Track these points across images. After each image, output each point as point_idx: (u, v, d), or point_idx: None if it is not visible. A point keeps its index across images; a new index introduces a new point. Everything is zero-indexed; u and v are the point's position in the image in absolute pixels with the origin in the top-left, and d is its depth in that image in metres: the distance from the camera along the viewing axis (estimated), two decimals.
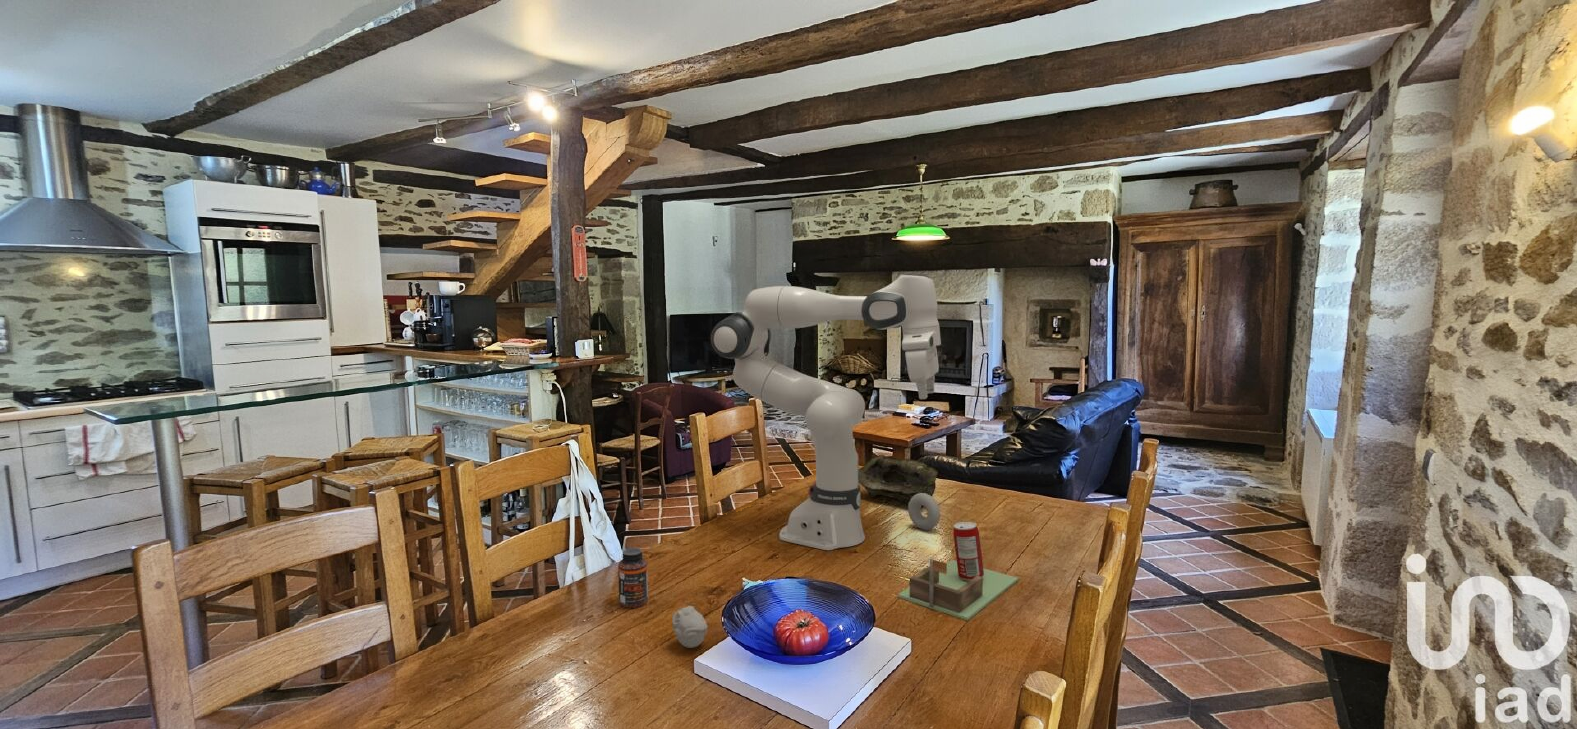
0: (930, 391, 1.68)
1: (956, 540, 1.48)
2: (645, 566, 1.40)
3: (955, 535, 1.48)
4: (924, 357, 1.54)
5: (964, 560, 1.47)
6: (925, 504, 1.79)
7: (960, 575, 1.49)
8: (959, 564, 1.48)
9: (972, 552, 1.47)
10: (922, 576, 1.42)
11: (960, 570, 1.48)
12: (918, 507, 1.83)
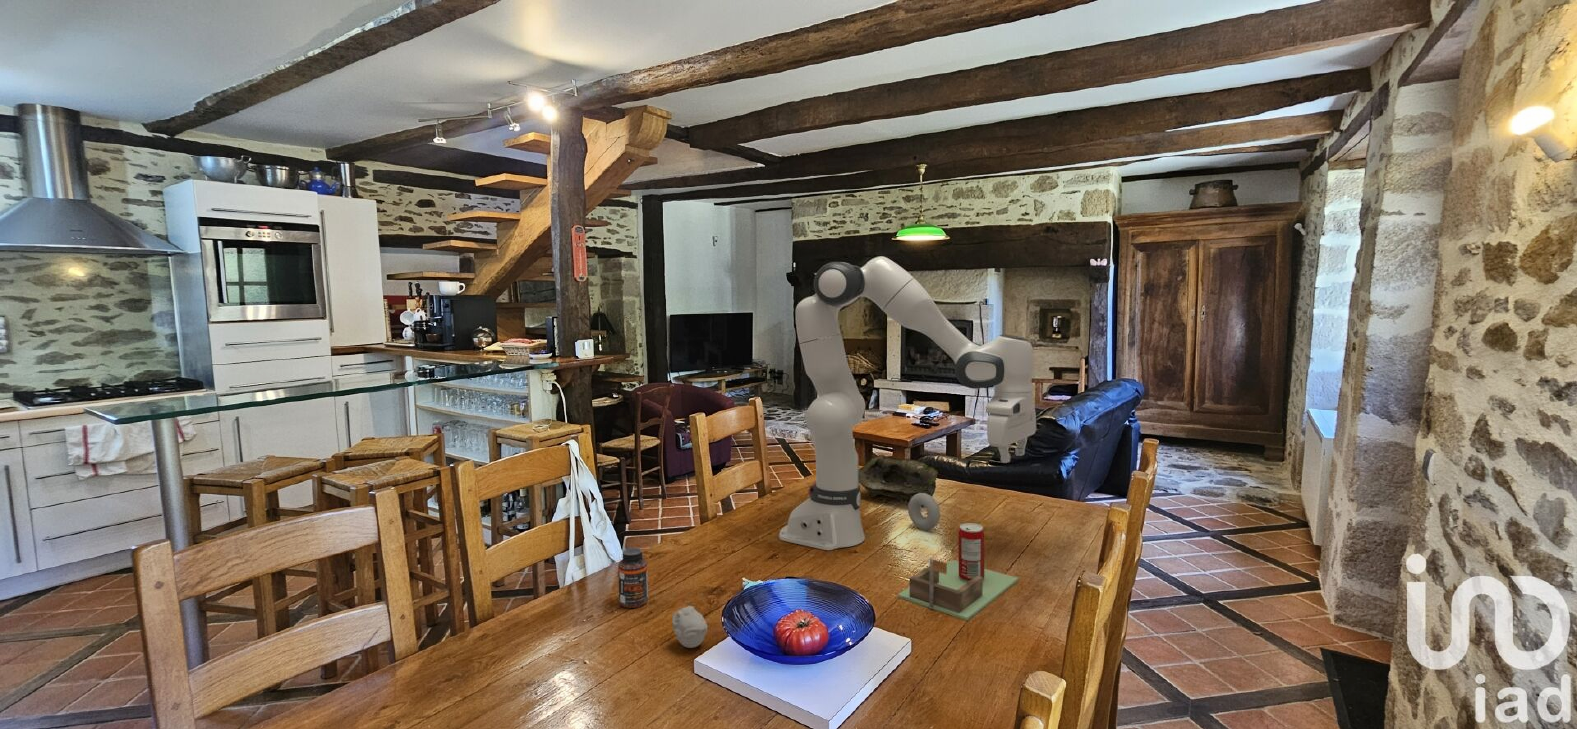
0: (1019, 454, 1.66)
1: (961, 541, 1.48)
2: (645, 566, 1.40)
3: (960, 536, 1.48)
4: (1004, 424, 1.54)
5: (967, 562, 1.47)
6: (925, 504, 1.79)
7: (961, 575, 1.49)
8: (961, 565, 1.48)
9: (975, 554, 1.46)
10: (922, 576, 1.42)
11: (961, 571, 1.48)
12: (918, 507, 1.83)
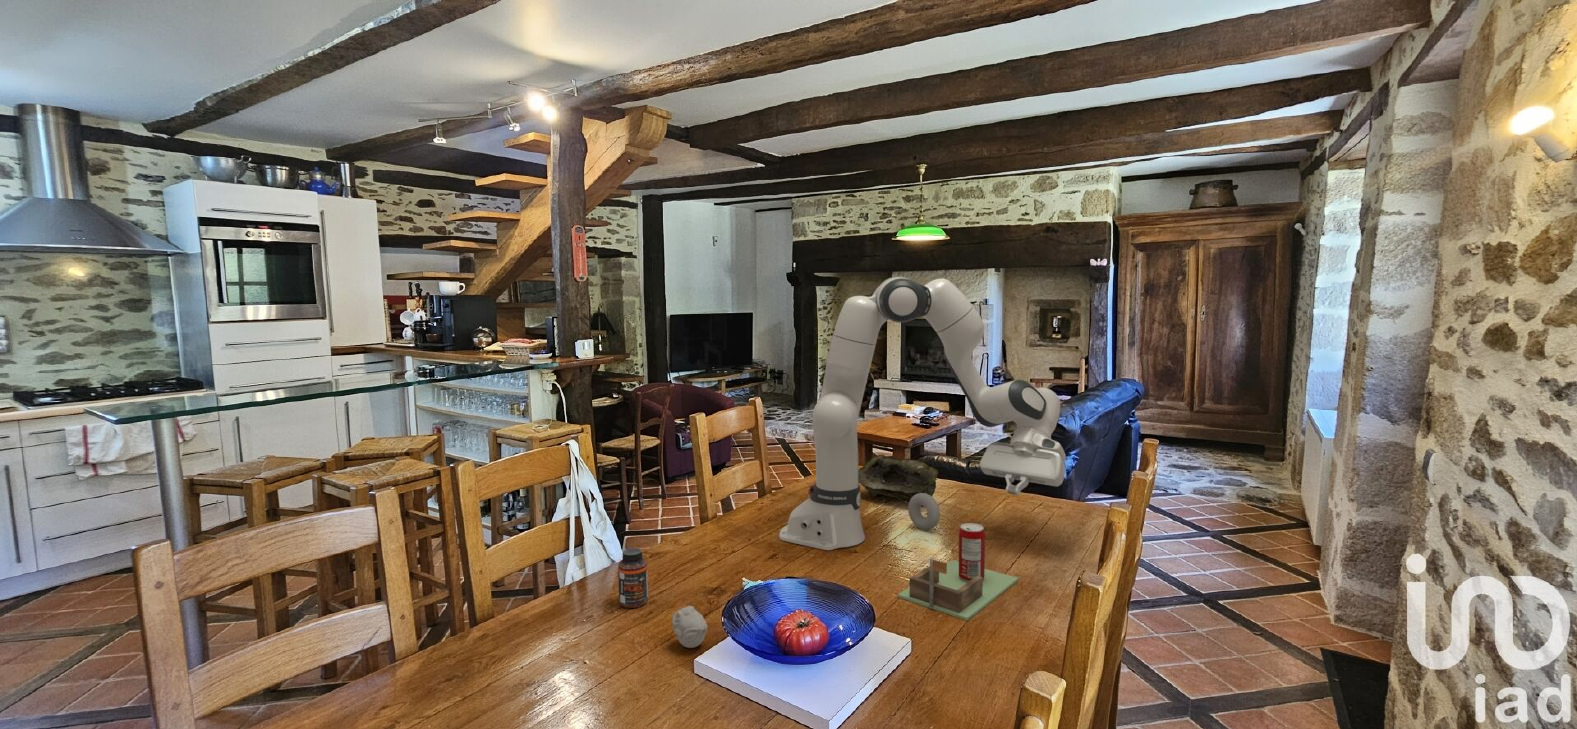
0: None
1: (961, 541, 1.48)
2: (645, 566, 1.40)
3: (961, 536, 1.48)
4: None
5: (967, 561, 1.47)
6: (925, 504, 1.79)
7: (961, 575, 1.49)
8: (962, 564, 1.48)
9: (976, 554, 1.47)
10: (922, 576, 1.42)
11: (962, 571, 1.48)
12: (918, 507, 1.83)
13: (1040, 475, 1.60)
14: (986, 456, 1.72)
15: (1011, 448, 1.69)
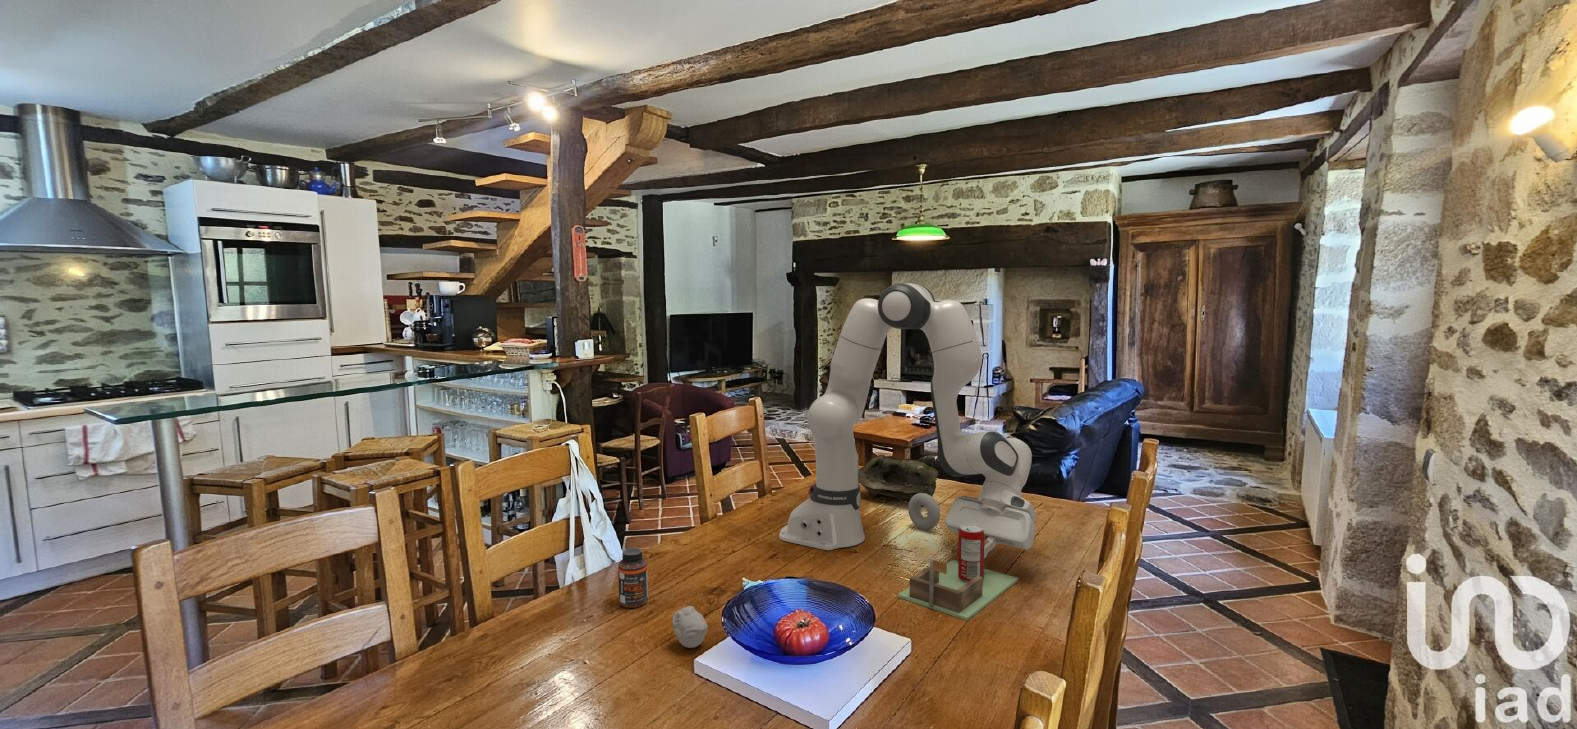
0: None
1: (960, 541, 1.48)
2: (645, 566, 1.40)
3: (960, 536, 1.48)
4: None
5: (966, 562, 1.47)
6: (925, 504, 1.79)
7: (960, 576, 1.49)
8: (961, 565, 1.48)
9: (975, 555, 1.46)
10: (922, 576, 1.42)
11: (961, 571, 1.48)
12: (918, 507, 1.83)
13: (1008, 537, 1.49)
14: (952, 512, 1.60)
15: (978, 505, 1.58)
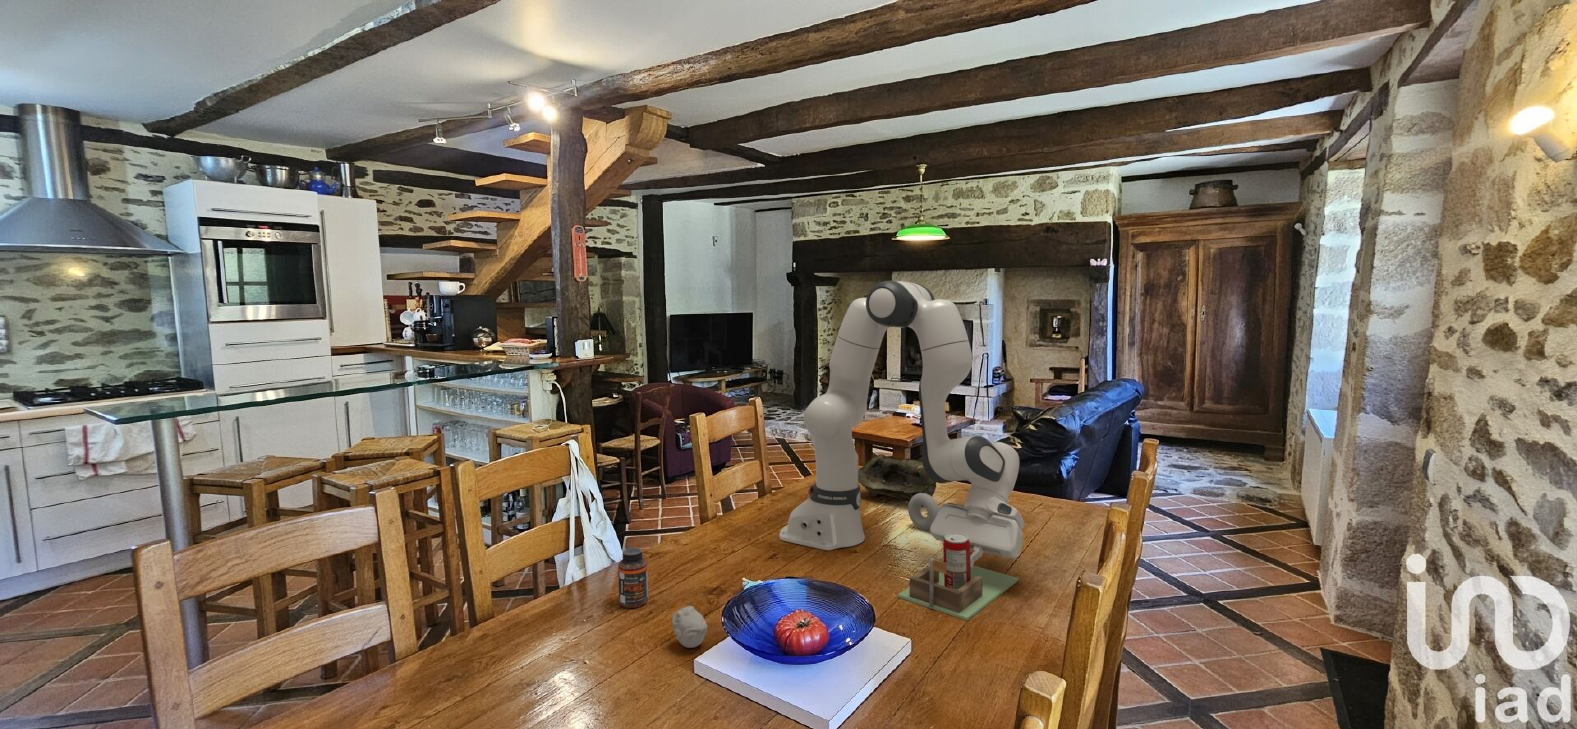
0: None
1: (945, 552, 1.42)
2: (645, 566, 1.40)
3: (945, 547, 1.42)
4: None
5: (952, 573, 1.41)
6: (925, 504, 1.79)
7: None
8: (947, 576, 1.42)
9: (961, 566, 1.40)
10: (922, 576, 1.42)
11: (947, 582, 1.43)
12: (918, 507, 1.83)
13: (995, 546, 1.43)
14: (937, 520, 1.54)
15: (964, 512, 1.52)
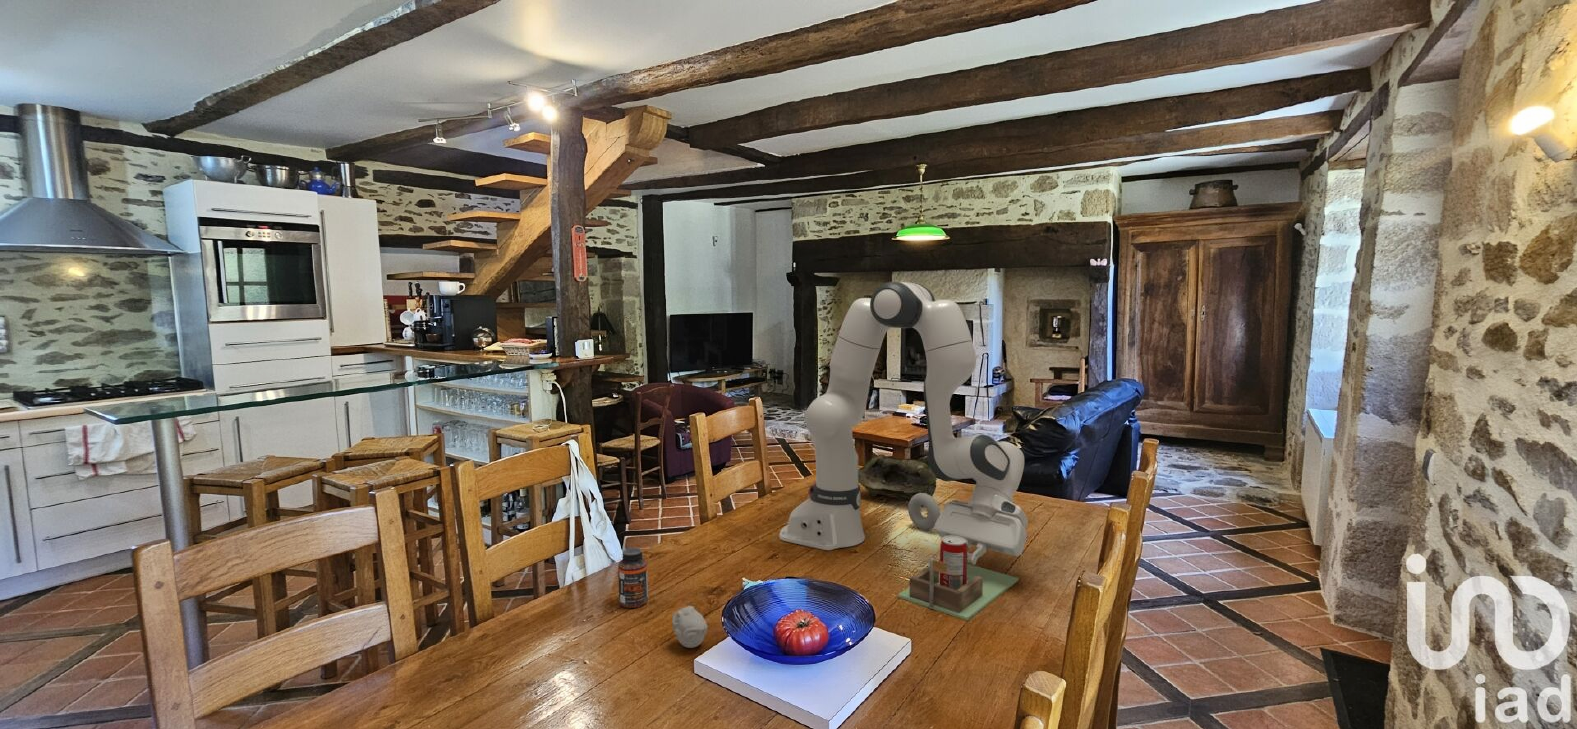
0: None
1: (942, 554, 1.40)
2: (645, 566, 1.40)
3: (942, 549, 1.41)
4: (1026, 535, 1.47)
5: (948, 576, 1.40)
6: (925, 504, 1.79)
7: None
8: (943, 579, 1.41)
9: (958, 568, 1.39)
10: (922, 576, 1.42)
11: None
12: (918, 507, 1.83)
13: (998, 543, 1.45)
14: (942, 517, 1.56)
15: (969, 510, 1.54)
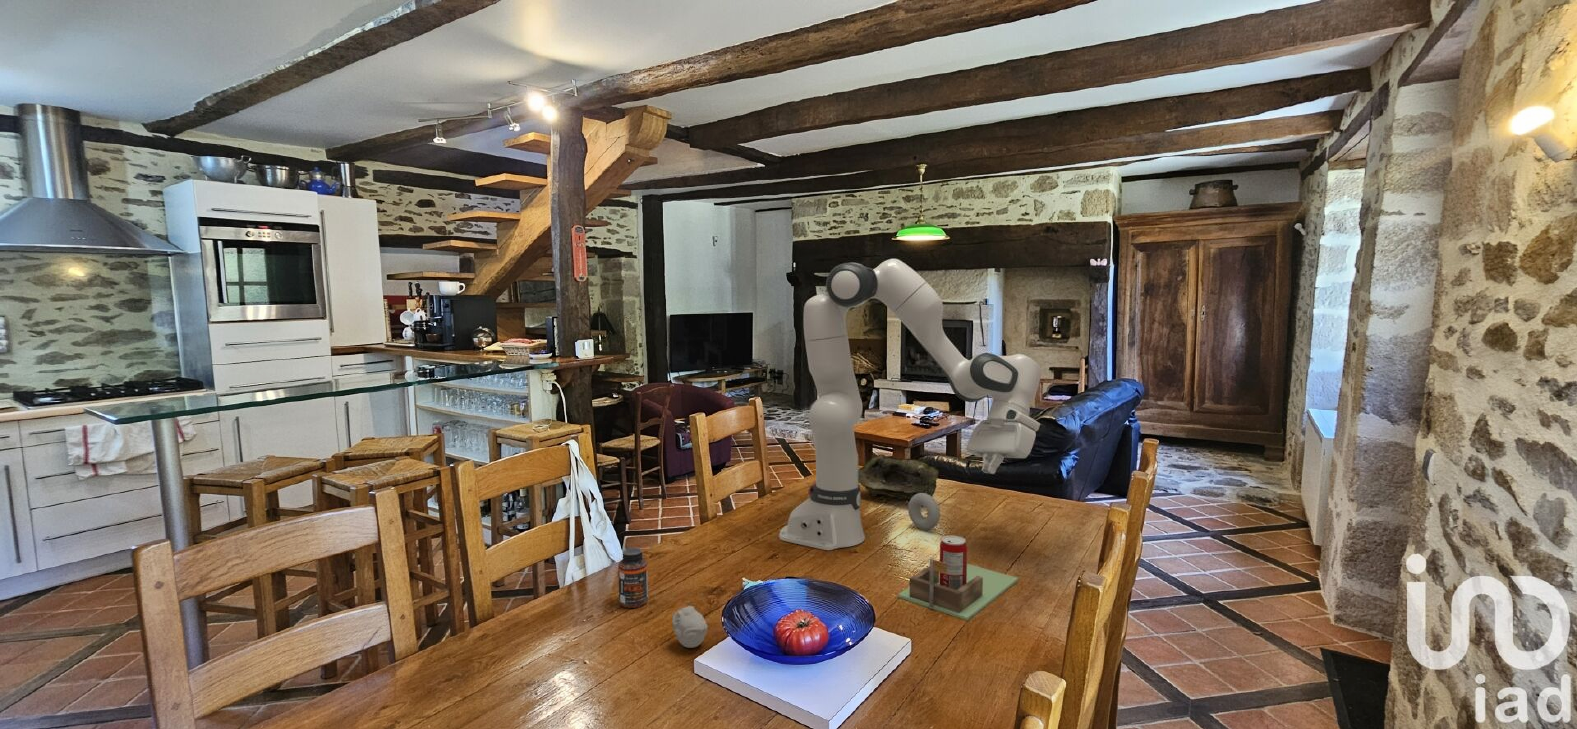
0: None
1: (942, 554, 1.41)
2: (645, 566, 1.40)
3: (942, 549, 1.41)
4: (1034, 437, 1.53)
5: (948, 576, 1.40)
6: (925, 504, 1.79)
7: None
8: (943, 579, 1.41)
9: (957, 568, 1.39)
10: (922, 576, 1.42)
11: None
12: (918, 507, 1.83)
13: (1004, 450, 1.54)
14: (971, 438, 1.69)
15: (989, 425, 1.64)
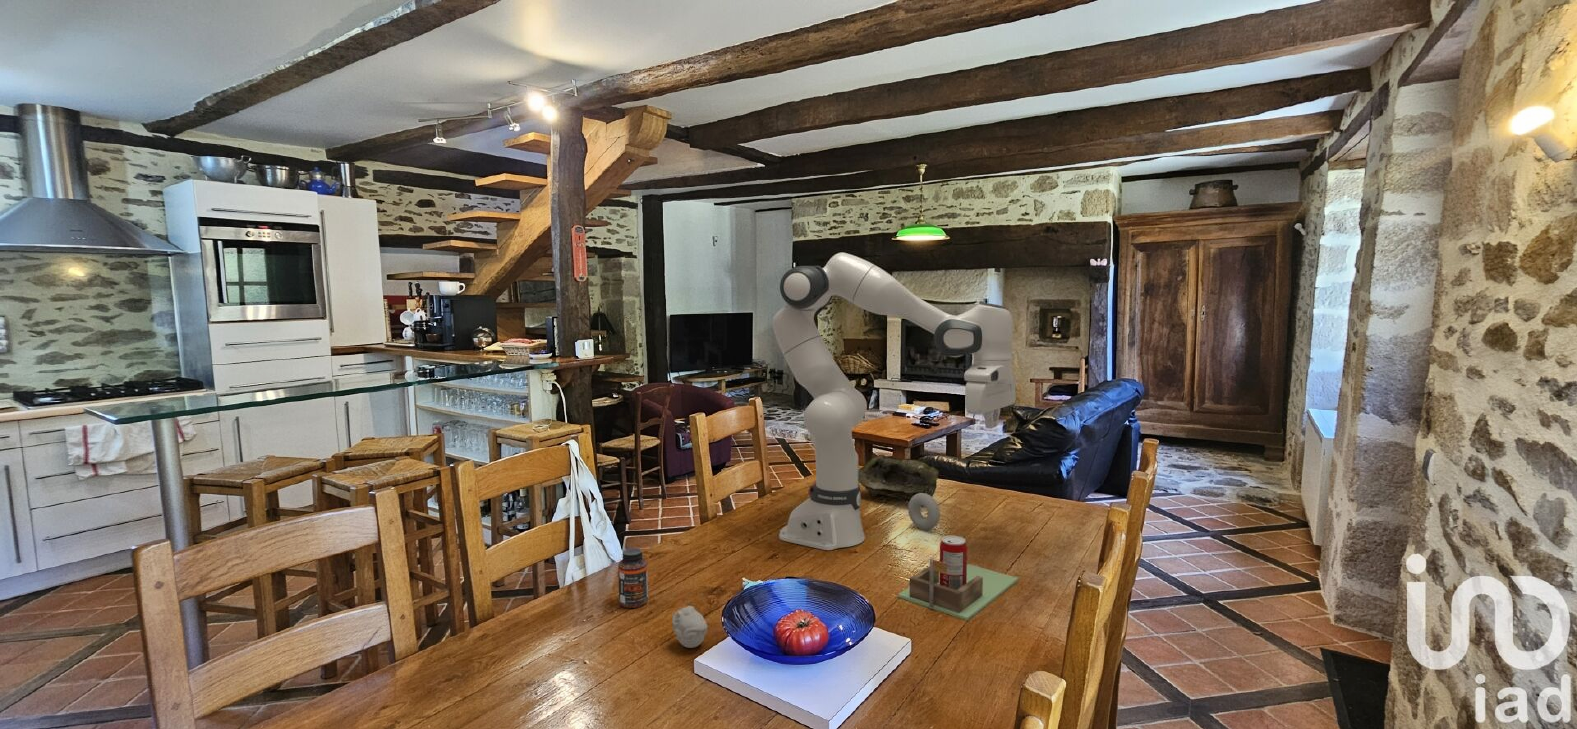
0: None
1: (942, 554, 1.41)
2: (645, 566, 1.40)
3: (942, 549, 1.41)
4: (982, 391, 1.54)
5: (948, 576, 1.40)
6: (925, 504, 1.79)
7: None
8: (943, 579, 1.41)
9: (957, 568, 1.39)
10: (922, 576, 1.42)
11: None
12: (918, 507, 1.83)
13: None
14: None
15: None
